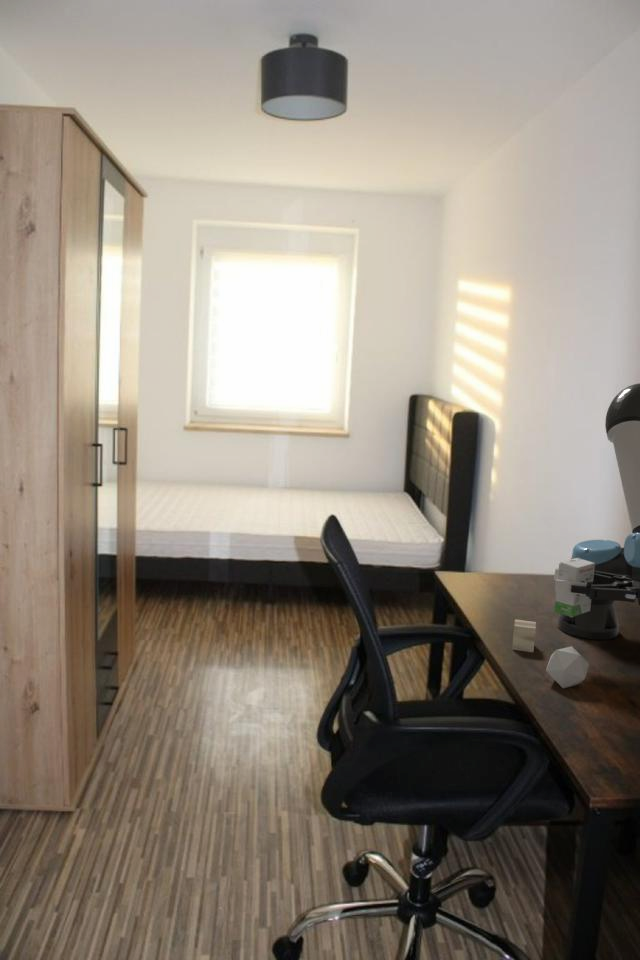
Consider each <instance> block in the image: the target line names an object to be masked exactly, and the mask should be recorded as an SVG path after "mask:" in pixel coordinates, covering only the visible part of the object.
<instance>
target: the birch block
mask: <svg viewBox="0 0 640 960" xmlns="http://www.w3.org/2000/svg"><path fill="white" fill-rule="evenodd" d="M536 631H537V622H536V621H529V620H523V619H514V624H513V634H512V648H511V650H513V651H515V650H516V651H520V652H521V651H522V652H526V653H527V652H528V653H534V650H535V641H536V633H537V632H536Z"/></svg>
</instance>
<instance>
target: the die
mask: <svg viewBox="0 0 640 960" xmlns="http://www.w3.org/2000/svg"><path fill="white" fill-rule="evenodd" d="M589 667H590V663H589V662H588V661H587V660H586V659H585V658H584V657H583V656H582V655H581V654H580V653H579V652H578V651H577V649H576V648H574V647H573V646H572V645H571V646H568V647H563V648H559V649H555V650H554V652H553V653H552V654H551V655H550V658H549V661H548V663H547V666H546V669H545V672H546V673H547V674H549V676H550V677H551V678H552V679H553V680H554V681H555V682H556V683H557V684H559V685H558V686H560V687H561V688H562V689H566V688H570V687H575V686H578V685H580V684H581V683H582V682H583V681H584V680H585V679H586V675H587V674H588V673H587V672H588V669H589Z"/></svg>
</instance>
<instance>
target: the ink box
mask: <svg viewBox="0 0 640 960" xmlns="http://www.w3.org/2000/svg"><path fill="white" fill-rule="evenodd" d="M558 569H559V570H558V580H566V581H574V582H583V583H586V587H587V582H588V581H589V582H590V583H591V585H593V578H594V569H595V563H593V562H590V561H586V560H583V559H580V558H574V559H571V558H570V559H567V560H562V561H560V562H559V564H558ZM590 606H591V599H589V597H587V596H586V594H585V595H577V594H569V593H561V592H555V600H554V610H553V611H554V613H557V614H559V615H560V614H563V615H567V616H570V617H574V616H577V615H580V614H583V613H585V612H588V611H590Z"/></svg>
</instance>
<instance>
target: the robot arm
mask: <svg viewBox="0 0 640 960" xmlns="http://www.w3.org/2000/svg"><path fill="white" fill-rule="evenodd" d="M604 425H605V433H606V436H607V440H608V441H609V442H610V443H612V444H613V449H614V454H615V457H616V458H615V459H616V462H617V467H618V472H619V473H618V474H619V477H620V482H621V487H622V491H623V495H624V499H625V501H624V502H625V504H626V508H627V513H628V519H629V524H630V529H631V533H629V534H628V535H627V536H626V538H625V540H624V544H623V547H622V546H621V544H620V543H619V542H617V541H613V540H609V539H607V540H604V539H590V540H589V539H588V540H584V541H580V542H579V543H577V544H575V545H574V546H573V548H572V553H571V557H570V559H574V558H580V559H583V560H586V561H590V562H593V563H595V569H594V578H593V585H591V583H590V582H589V581H588V582H587V587H586V583H583V582H574V581H566V580H558V570H559V568H557V567H556V568H554V569H555V570H554V578H553V580H554V581H555V586H554V587H555V588H554V592H555V593H556V592H561V593H569V594H577V595H585V594H586V596H587V597H589V599H591V606H590V611H588V612H585V613H583V614H580V615H577V616H574V617H570V616H567V615H563V614H560V613H559V615H558V618H557V628H558V629H559V630H560V631H562V632H564V633H566V634H568V635H571V636H574V637H578V638H584V639H589V640H599V641H600V640H603V641H604V640H612V639H615V638H617V637H618V635H619V632H620V625H619V620H618V615H617V612H616V607H615V601H616V602H618V601H619V602H628V603H635V602H636V599H637V604H638V605H639V607H640V383H639V382H638V383H635V384H631V385H628V386H627V387H625V388H623V389H622V390H621V391H619V393H617V394H616V395H615V396H614V398H613V399H612V401H611V402H610V404H609V406H608V408H607V411H606V415H605V424H604Z"/></svg>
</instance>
